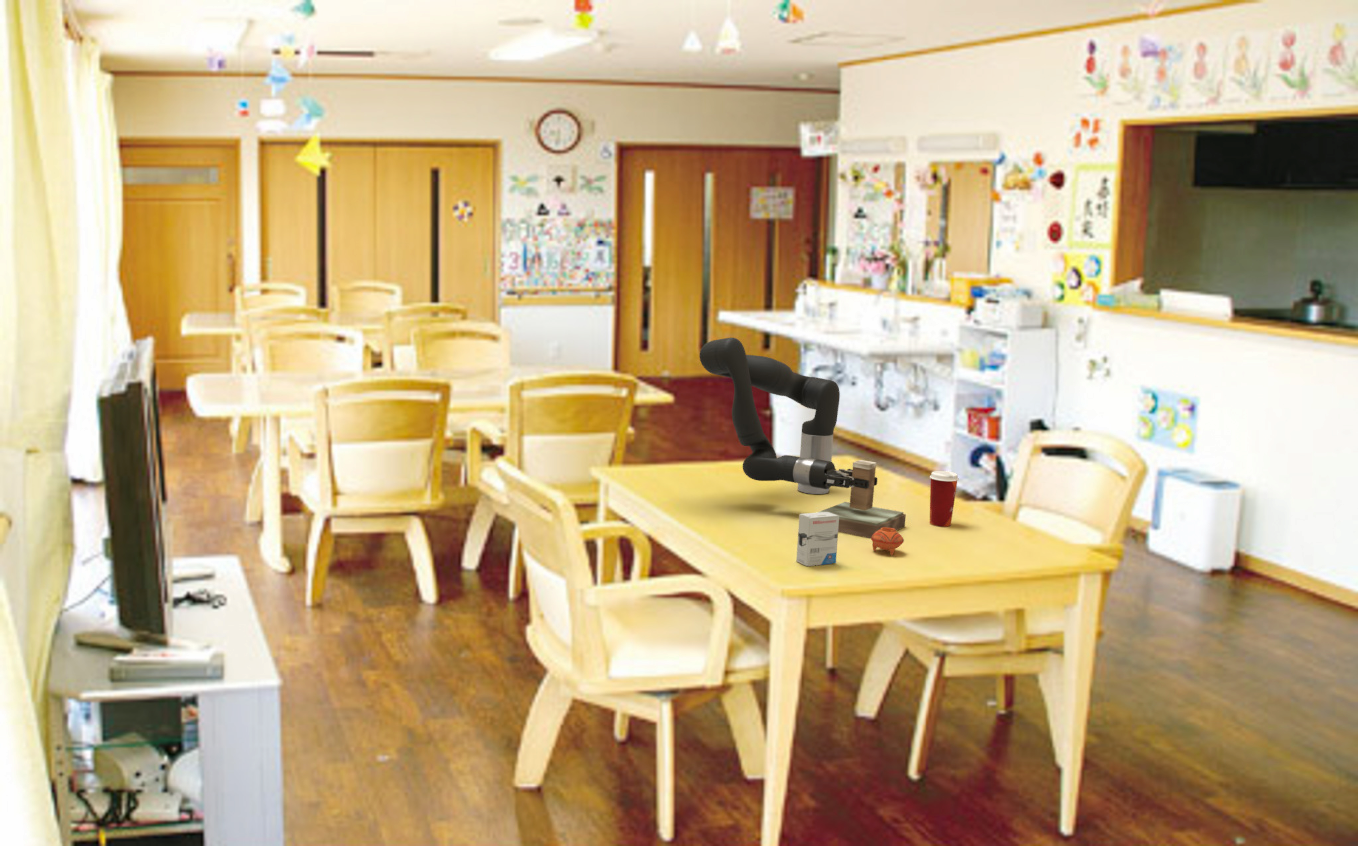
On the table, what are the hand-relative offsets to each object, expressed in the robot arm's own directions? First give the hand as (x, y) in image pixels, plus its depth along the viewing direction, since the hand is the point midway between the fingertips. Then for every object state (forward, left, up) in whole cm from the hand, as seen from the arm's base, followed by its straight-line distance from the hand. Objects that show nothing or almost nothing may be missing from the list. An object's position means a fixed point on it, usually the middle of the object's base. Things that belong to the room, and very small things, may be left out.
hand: (872, 483), depth 363 cm
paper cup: (-19, +12, -12) cm, 26 cm away
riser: (0, -3, -12) cm, 13 cm away
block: (0, -3, -7) cm, 8 cm away
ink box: (+40, +4, -13) cm, 42 cm away
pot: (+19, +13, -13) cm, 26 cm away
